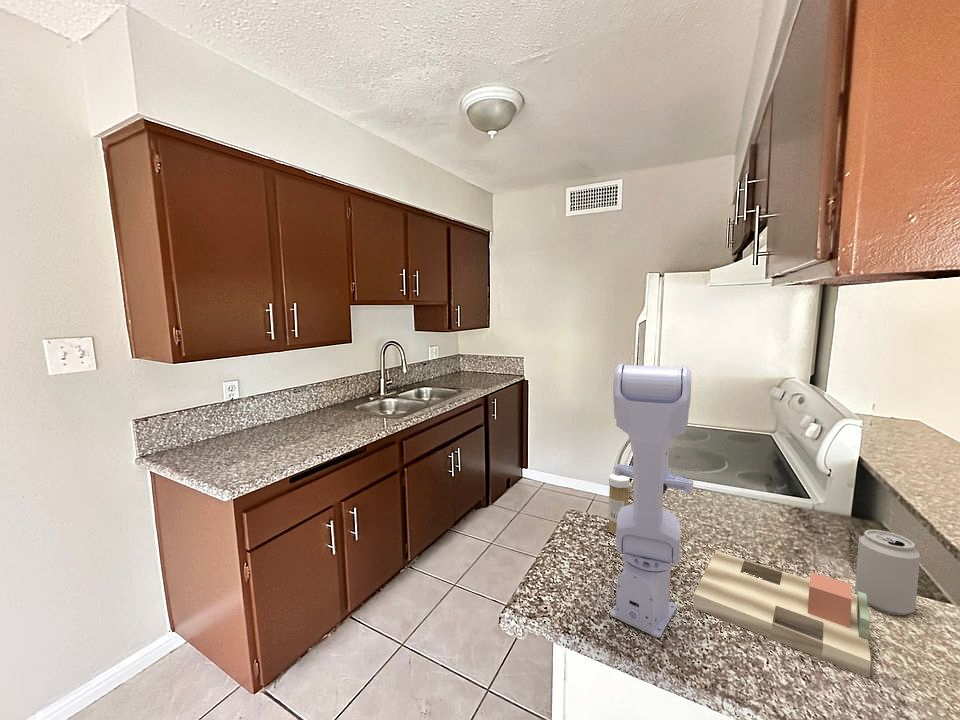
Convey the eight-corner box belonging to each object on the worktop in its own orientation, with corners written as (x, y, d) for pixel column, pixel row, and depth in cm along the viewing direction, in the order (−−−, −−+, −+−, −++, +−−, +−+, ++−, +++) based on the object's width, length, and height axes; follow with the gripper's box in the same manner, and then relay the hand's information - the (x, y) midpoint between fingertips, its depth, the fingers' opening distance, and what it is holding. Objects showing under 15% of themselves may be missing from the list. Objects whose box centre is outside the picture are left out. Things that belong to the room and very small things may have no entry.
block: (849, 627, 62) (851, 599, 62) (807, 613, 65) (809, 586, 65) (848, 610, 66) (850, 584, 66) (808, 597, 69) (810, 572, 69)
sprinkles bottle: (632, 534, 96) (634, 477, 94) (619, 539, 93) (621, 481, 92) (615, 526, 99) (617, 471, 98) (603, 531, 97) (604, 475, 96)
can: (901, 623, 67) (907, 552, 66) (845, 596, 74) (850, 531, 73) (923, 611, 70) (930, 543, 69) (868, 585, 77) (873, 523, 76)
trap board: (869, 678, 56) (872, 640, 56) (692, 607, 70) (694, 576, 70) (861, 610, 70) (864, 579, 69) (715, 562, 84) (716, 536, 84)
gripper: (698, 453, 79) (695, 521, 80) (624, 440, 89) (622, 501, 90) (688, 462, 74) (685, 535, 75) (611, 447, 83) (609, 512, 84)
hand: (650, 517), depth 82 cm, fingers closed
